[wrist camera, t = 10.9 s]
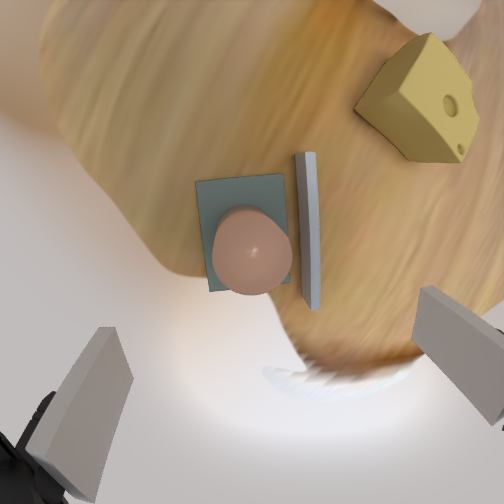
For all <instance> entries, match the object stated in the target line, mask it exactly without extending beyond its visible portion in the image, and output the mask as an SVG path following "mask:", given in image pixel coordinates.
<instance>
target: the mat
mask: <svg viewBox="0 0 504 504" xmlns="http://www.w3.org/2000/svg"><path fill="white" fill-rule="evenodd" d="M196 191H197V200H198V209H199V217H200V226H201V234H202V241H203V249H204V256H205V264H206V271H207V278H208V284H209V291H210V292H214V291H223V290H230V289H229V288H227V287H226V286H225V285H224V284H223V283H222V282H221V281H220V280H219V278H218V277H217V275H216V273H215V271H214V268H213V263H212V253H213V246H214V239H215V233H216V227H217V224H218V221H219V219H220V218H221V216H222V215H223V214H224V213H225V212H226V211H227V210H228V209H230V208H232V207H234V206H237V205H242V204H247V205H253V206H256V207H258V208H260V209H261V210H263V211H264V212H265V213H266V214H267V215H268V216H269V217H270V218H271V219H272V220H273V221H274V222H275V223H276V224H277V225H278V226H279V227H280V228H281V230H282V231H283V232H284V233H285V234H286V236H287V237H288V234H287V217H286V202H285V187H284V174H272V175H259V176H247V177H236V178H226V179H216V180H208V181H199V182H196ZM285 283H290V274H289V272H288V274H287V276H286V278H285V279H284V280H283V281H282V282H281V283H280V284H285Z"/></svg>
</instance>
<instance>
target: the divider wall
mask: <svg viewBox="0 0 504 504" xmlns="http://www.w3.org/2000/svg"><path fill="white" fill-rule="evenodd" d="M295 163H296V177H297V192H298V208H299V227H300V251H301V283H302V296H303V298H304V300H305V301H306V303H307V304H308V306H309V308H310V309H311V310H317V309H320V228H319V203H318V184H317V168H316V155H315V152H303V153H299V154H295Z"/></svg>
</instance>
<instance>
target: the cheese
mask: <svg viewBox="0 0 504 504" xmlns="http://www.w3.org/2000/svg"><path fill="white" fill-rule="evenodd" d="M472 89H473V85H472V82H471V80H470V78H469V77H468V75H467V74H466V72H465V71H464V70H463V68H462V67H461V65H460V64H459V63H458V61H457V60H456V58H455V57H454V56H453V54H452V53H451V52H450V50H449V49H448V48H447V47H446V46H445V45H444V44H443V42H442V41H441V40H439V39H438V38H437V37H436V36H435V35H434V34H433V33H431V32H430V33H426V34H423V35H421V36H418V37H416V38H414V39H412V40H411V41H409V42H408V43H407V44H405V45H404V46H403V47H402V48H401V49H400V50H399V51H398V52H397V53H396V54H395V55H394V56H393V57H391V58H390V59H389V60H388V61H387V62H386V63H385V64H384V66H383V67H382V68H381V70H380V71H379V72H378V74H377V75H376V77H375V78H374V79H373V81H372V82H371V84H370V85H369V87H368V88H367V90H366V92H365V93H364V95H363V96H362V98H361V99H360V100H359V102H358V103H357V105H356V106H355V107H354V110H355V111H356V112H358V113H359V114H360V115H361V116H362V117H363V118H364V119H365V120H367V121H368V122H369V123H370V124H371V125H372V126H374V127H375V128H376V129H377V130H378V131H380V132H381V133H382V134H383V135H384V136H385V137H386V138H388V139H389V140H390V141H391V142H392V143H393V144H394V145H395V146H396V147H397V148H398V149H399V150H400V152H401V153H402V154H403V155H404V156H405V157H406V158H407V159H408V160H409V161H415V162H425V163H461V162H462V161H463V159H464V157H465V155H466V153H467V151H468V149H469V146H470V144H471V142H472V140H473V138H474V135H475V132H476V130H477V127H478V124H479V115H478V113H477V111H476V109H475V107H474V100H473V99H472V97H471V93H472Z"/></svg>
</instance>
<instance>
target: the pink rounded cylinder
mask: <svg viewBox="0 0 504 504" xmlns="http://www.w3.org/2000/svg"><path fill="white" fill-rule="evenodd" d="M212 263H213V268H214V271H215V273H216V275H217V277H218V278H219V280H220V281H221V282H222V283H223V284H224V285H225V286H226V287H227V288H229V289H230V290H232V291H234V292H236V293H239V294H243V295H258V294H263V293H266V292H269V291H271V290H272V289H274V288H276V287H277V286H278V285H279V284H280V283H281V282H282V281H283V280H284V279H285V278H286V276H287V274H288V272H289V270H290V267H291V264H292V248H291V244H290V241H289V239H288V237H287V236H286V234H285V233H284V232H283V231H282V230H281V228H280V227H279V226H278V225H277V224H276V223H275V222H274V221H273V220H272V219H271V218H270V217H269V216H268V215H267V214H266V213H265V212H264V211H263V210H261V209H260V208H258V207H256V206H253V205H247V204H242V205H237V206H234V207H232V208H230V209H228V210H227V211H226V212H225V213H224V214H223V215H222V216H221V218H220V219H219V221H218V224H217V227H216V233H215V239H214V246H213V253H212Z"/></svg>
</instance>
